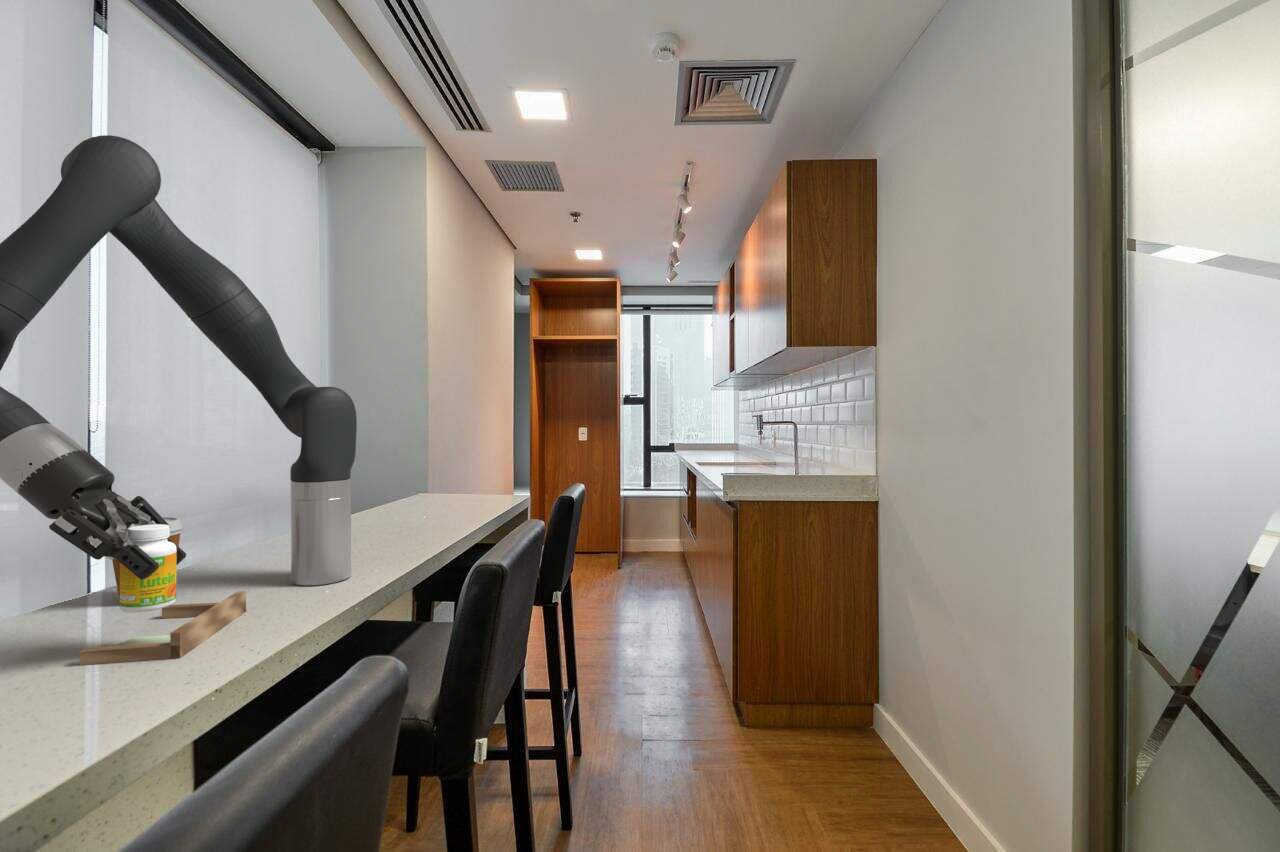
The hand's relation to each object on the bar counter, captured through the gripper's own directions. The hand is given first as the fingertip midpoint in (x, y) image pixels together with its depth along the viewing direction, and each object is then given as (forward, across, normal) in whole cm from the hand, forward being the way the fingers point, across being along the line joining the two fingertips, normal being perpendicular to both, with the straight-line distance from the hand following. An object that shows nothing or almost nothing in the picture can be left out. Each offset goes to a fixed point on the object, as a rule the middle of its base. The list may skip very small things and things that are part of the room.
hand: (165, 566), depth 74 cm
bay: (+6, +4, +8) cm, 11 cm away
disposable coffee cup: (-3, +23, +17) cm, 28 cm away
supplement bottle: (+2, 0, +5) cm, 5 cm away
